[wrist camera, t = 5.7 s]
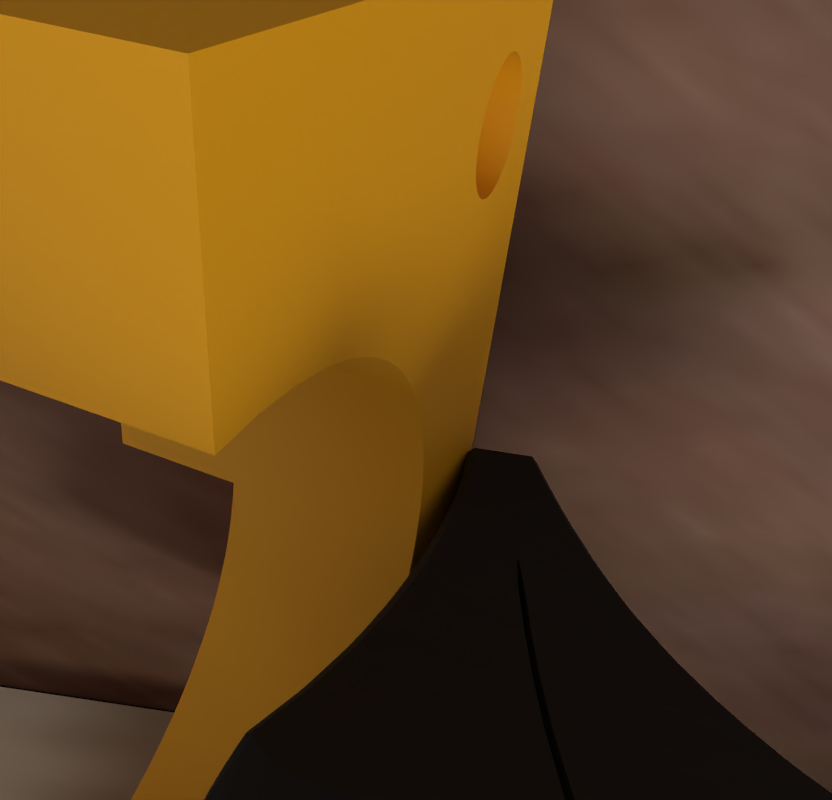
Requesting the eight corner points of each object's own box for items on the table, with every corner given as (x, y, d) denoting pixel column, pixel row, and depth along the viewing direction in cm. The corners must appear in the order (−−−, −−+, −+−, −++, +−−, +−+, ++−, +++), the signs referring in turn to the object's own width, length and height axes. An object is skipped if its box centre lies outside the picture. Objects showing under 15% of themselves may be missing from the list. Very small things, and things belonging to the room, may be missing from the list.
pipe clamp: (192, -116, 9) (-554, -103, 4) (564, -61, 8) (188, 55, 3) (233, 587, 16) (-18, 913, 11) (432, 666, 15) (255, 1066, 10)
